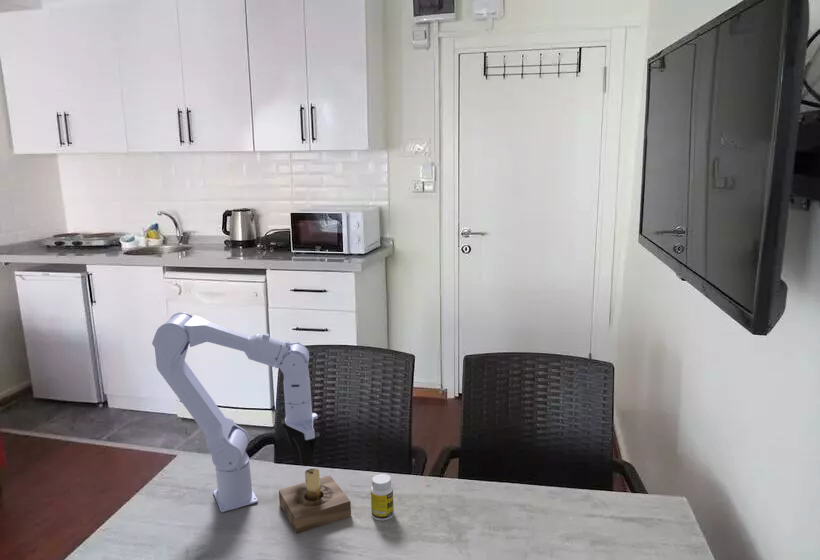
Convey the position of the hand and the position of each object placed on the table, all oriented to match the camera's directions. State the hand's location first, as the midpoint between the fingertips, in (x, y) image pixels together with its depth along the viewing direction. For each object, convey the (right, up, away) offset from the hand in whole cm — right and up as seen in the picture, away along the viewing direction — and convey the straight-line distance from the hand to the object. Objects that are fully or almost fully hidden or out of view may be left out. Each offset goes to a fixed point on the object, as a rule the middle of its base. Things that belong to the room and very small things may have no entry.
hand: (301, 456), depth 134 cm
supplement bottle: (+18, -11, -6) cm, 22 cm away
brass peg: (+3, -9, -4) cm, 11 cm away
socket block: (+4, -10, -4) cm, 12 cm away
